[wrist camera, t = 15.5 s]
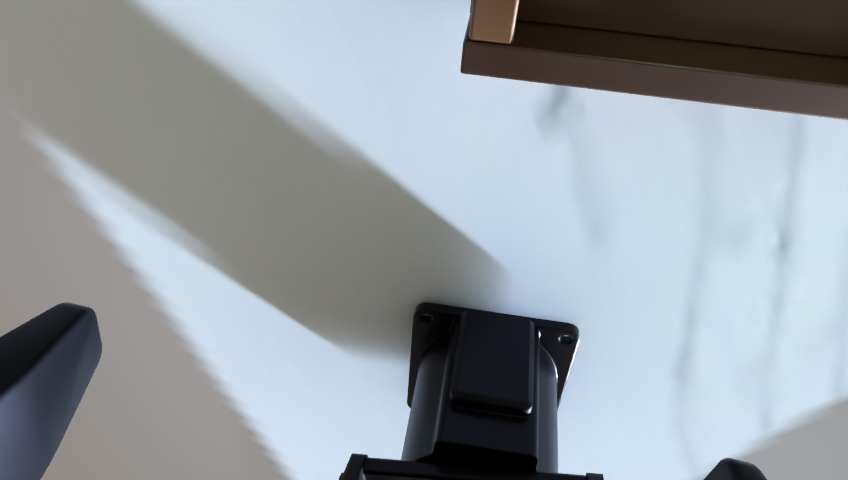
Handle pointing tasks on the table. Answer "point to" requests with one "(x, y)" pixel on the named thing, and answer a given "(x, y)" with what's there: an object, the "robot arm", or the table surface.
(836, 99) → the wooden tray
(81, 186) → the table surface
